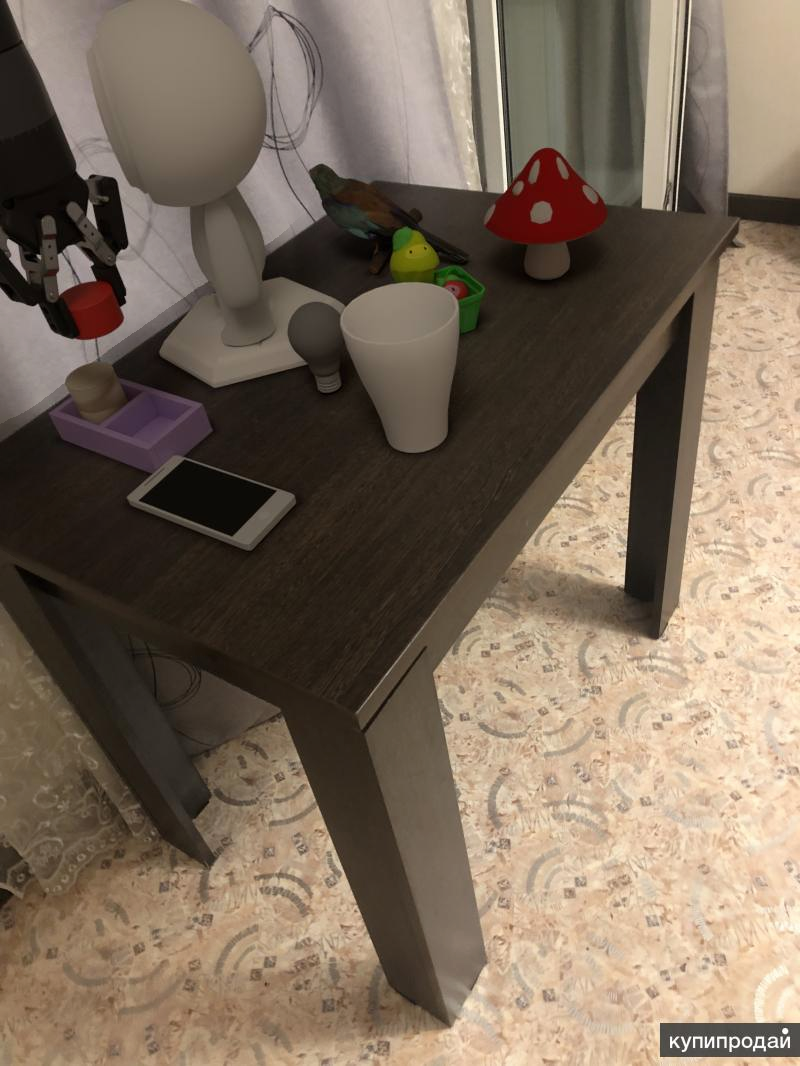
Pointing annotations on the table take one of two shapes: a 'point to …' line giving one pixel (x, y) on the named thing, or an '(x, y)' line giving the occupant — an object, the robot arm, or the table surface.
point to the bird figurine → (371, 215)
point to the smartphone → (212, 501)
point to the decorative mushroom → (546, 213)
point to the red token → (93, 309)
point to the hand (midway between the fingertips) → (93, 319)
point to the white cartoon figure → (199, 175)
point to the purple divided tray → (138, 427)
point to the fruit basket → (435, 274)
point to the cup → (406, 358)
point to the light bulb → (318, 342)
